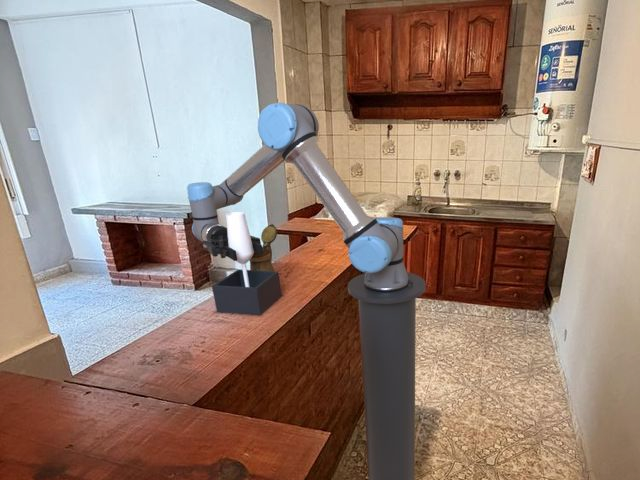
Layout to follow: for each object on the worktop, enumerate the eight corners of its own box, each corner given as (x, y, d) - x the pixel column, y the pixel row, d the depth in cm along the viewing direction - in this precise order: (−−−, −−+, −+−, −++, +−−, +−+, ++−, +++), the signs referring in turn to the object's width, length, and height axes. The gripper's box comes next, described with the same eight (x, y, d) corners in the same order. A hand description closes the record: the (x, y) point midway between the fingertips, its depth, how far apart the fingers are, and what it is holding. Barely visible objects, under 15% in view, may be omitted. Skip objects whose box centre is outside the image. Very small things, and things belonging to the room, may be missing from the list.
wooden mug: (290, 274, 140) (283, 224, 134) (266, 288, 129) (258, 234, 122) (269, 272, 144) (262, 223, 137) (244, 285, 132) (235, 232, 125)
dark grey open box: (281, 295, 123) (278, 271, 120) (260, 315, 111) (256, 288, 108) (241, 293, 126) (237, 269, 123) (216, 311, 113) (211, 286, 110)
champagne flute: (247, 300, 113) (232, 217, 104) (231, 296, 116) (216, 214, 107) (265, 292, 118) (253, 212, 109) (250, 288, 122) (237, 210, 112)
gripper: (250, 242, 132) (282, 258, 116) (188, 255, 120) (214, 274, 104) (246, 220, 129) (279, 233, 113) (182, 231, 117) (209, 247, 101)
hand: (248, 252), depth 108 cm, fingers closed on champagne flute, 7 cm apart
